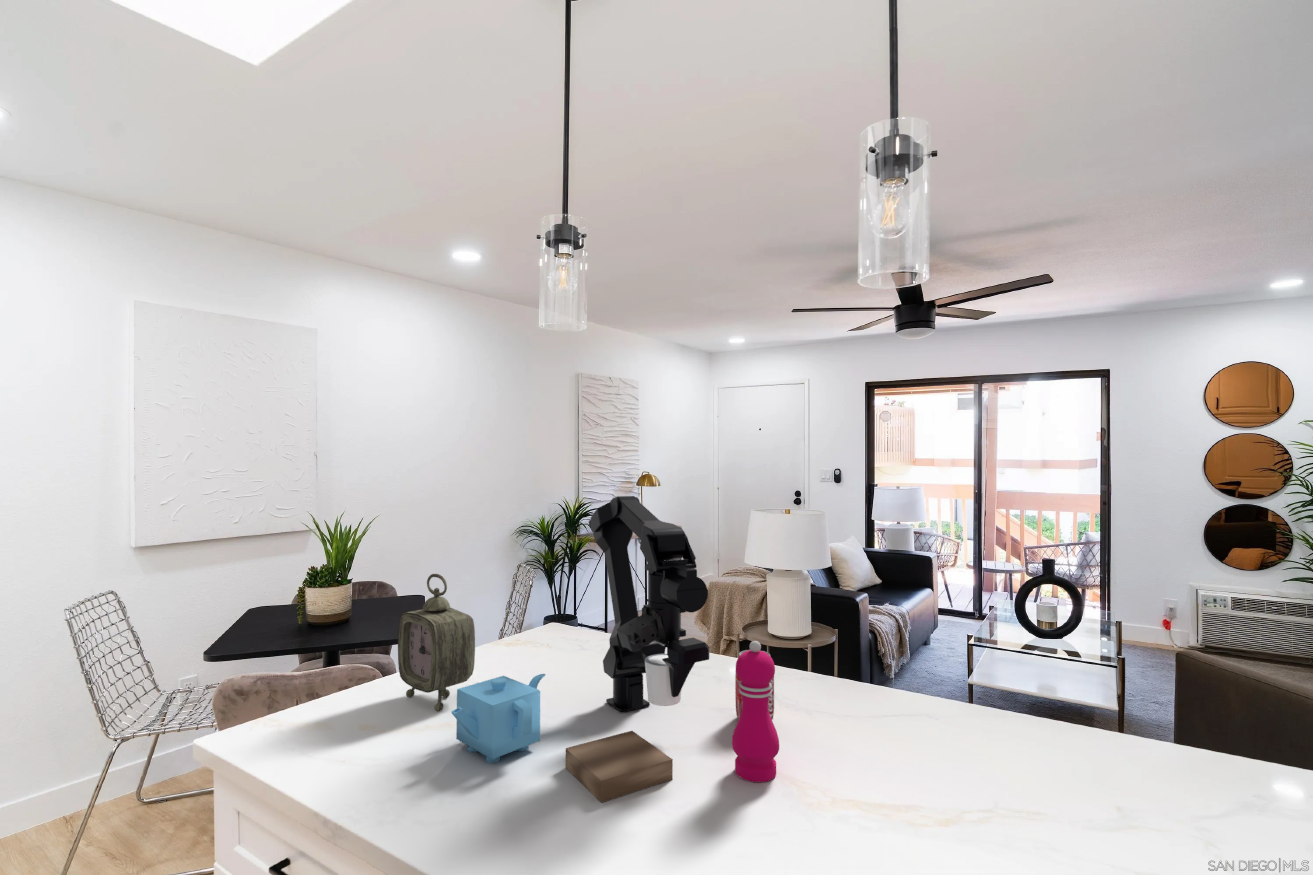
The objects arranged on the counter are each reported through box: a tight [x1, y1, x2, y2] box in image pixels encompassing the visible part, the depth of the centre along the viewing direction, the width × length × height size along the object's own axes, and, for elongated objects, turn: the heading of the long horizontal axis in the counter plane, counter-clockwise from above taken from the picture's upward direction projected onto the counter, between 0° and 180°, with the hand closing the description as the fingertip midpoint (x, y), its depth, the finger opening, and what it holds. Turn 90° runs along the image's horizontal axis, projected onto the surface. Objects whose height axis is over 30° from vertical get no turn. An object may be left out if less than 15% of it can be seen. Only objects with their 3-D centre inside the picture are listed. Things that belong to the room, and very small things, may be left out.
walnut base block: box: [565, 730, 674, 803], centre depth 98 cm, size 12×12×3 cm
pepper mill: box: [731, 640, 780, 783], centre depth 99 cm, size 7×7×20 cm
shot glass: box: [645, 653, 682, 707], centre depth 111 cm, size 7×7×7 cm
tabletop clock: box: [397, 573, 476, 712], centre depth 128 cm, size 14×9×25 cm, turn 49°
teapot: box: [450, 673, 546, 764], centre depth 107 cm, size 16×18×11 cm
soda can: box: [734, 649, 775, 720], centre depth 118 cm, size 7×7×12 cm
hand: (664, 690), depth 111 cm, fingers closed on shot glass, 6 cm apart
